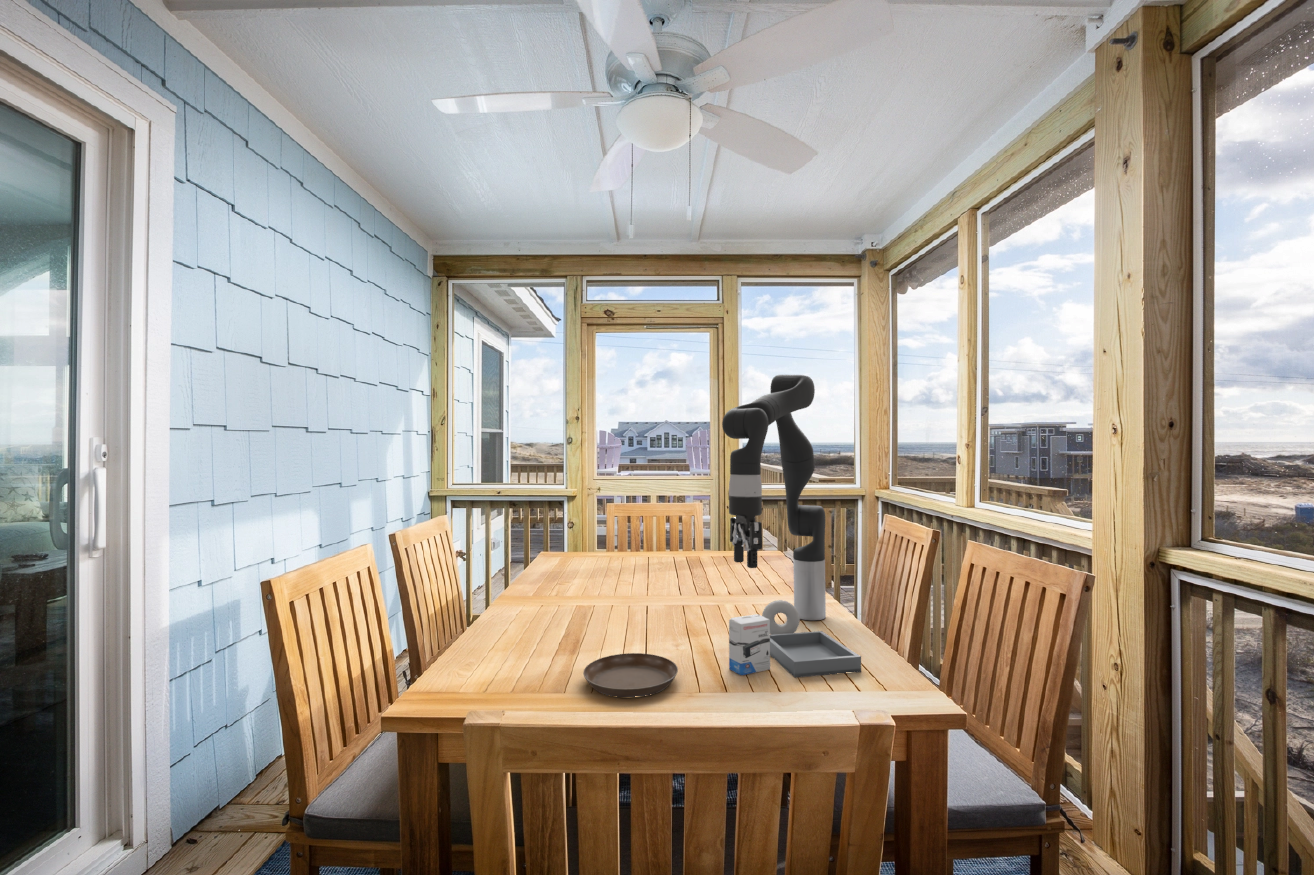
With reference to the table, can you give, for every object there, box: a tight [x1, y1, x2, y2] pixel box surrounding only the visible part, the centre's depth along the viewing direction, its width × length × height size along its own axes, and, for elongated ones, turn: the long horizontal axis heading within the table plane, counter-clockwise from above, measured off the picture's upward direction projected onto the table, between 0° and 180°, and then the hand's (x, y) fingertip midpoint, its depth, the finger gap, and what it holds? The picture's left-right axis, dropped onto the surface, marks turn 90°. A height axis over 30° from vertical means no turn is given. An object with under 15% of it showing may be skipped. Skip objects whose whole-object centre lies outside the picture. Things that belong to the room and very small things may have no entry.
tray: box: [770, 630, 862, 679], centre depth 150 cm, size 20×16×4 cm
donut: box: [761, 599, 801, 635], centre depth 168 cm, size 10×4×10 cm, turn 81°
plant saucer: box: [583, 652, 679, 698], centre depth 137 cm, size 21×21×3 cm
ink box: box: [728, 614, 771, 676], centre depth 144 cm, size 8×5×12 cm, turn 117°
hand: (745, 564), depth 145 cm, fingers open, 8 cm apart
